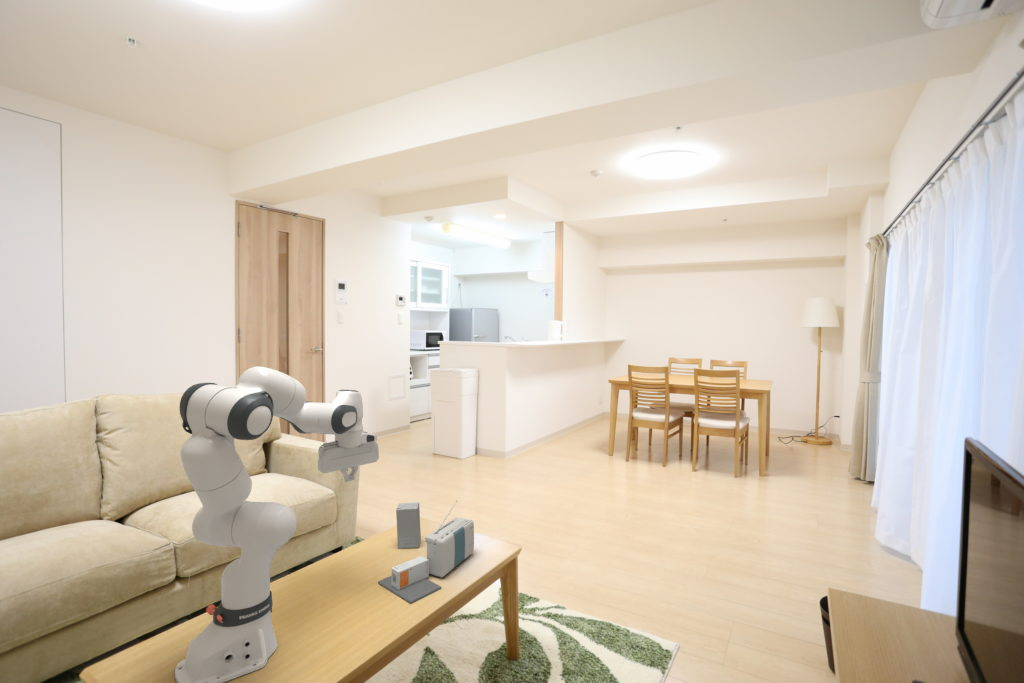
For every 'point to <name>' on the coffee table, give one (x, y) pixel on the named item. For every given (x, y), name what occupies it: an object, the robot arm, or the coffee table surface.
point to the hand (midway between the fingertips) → (349, 480)
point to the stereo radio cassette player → (449, 545)
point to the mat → (411, 589)
